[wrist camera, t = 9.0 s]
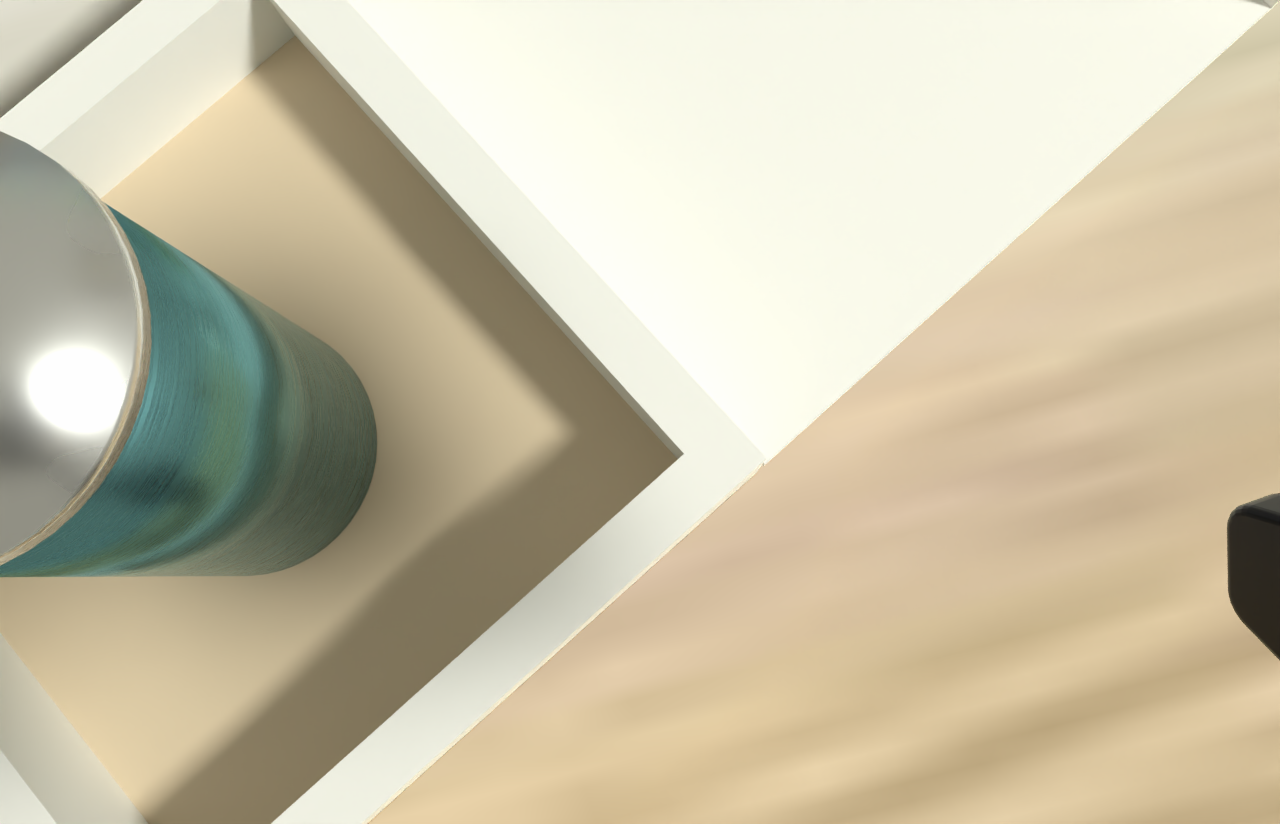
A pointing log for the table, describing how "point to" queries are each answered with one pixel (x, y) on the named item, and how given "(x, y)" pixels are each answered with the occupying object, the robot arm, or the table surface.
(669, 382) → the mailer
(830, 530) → the table surface
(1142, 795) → the table surface
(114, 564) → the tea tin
